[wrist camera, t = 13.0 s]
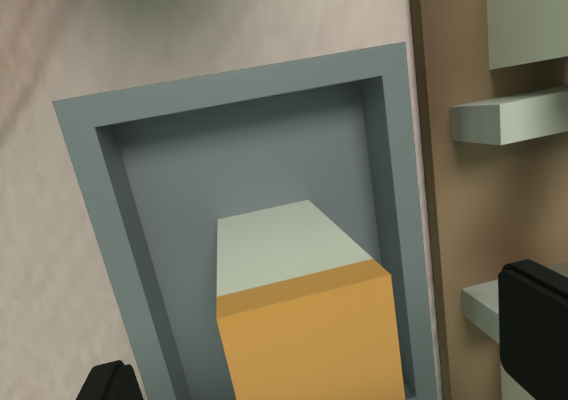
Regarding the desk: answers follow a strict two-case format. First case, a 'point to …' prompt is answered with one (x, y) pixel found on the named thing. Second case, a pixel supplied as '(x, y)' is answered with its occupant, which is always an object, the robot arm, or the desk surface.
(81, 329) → the desk surface
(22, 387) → the desk surface
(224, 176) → the tray
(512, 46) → the block
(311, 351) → the block
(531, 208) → the fuse board
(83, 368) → the desk surface
